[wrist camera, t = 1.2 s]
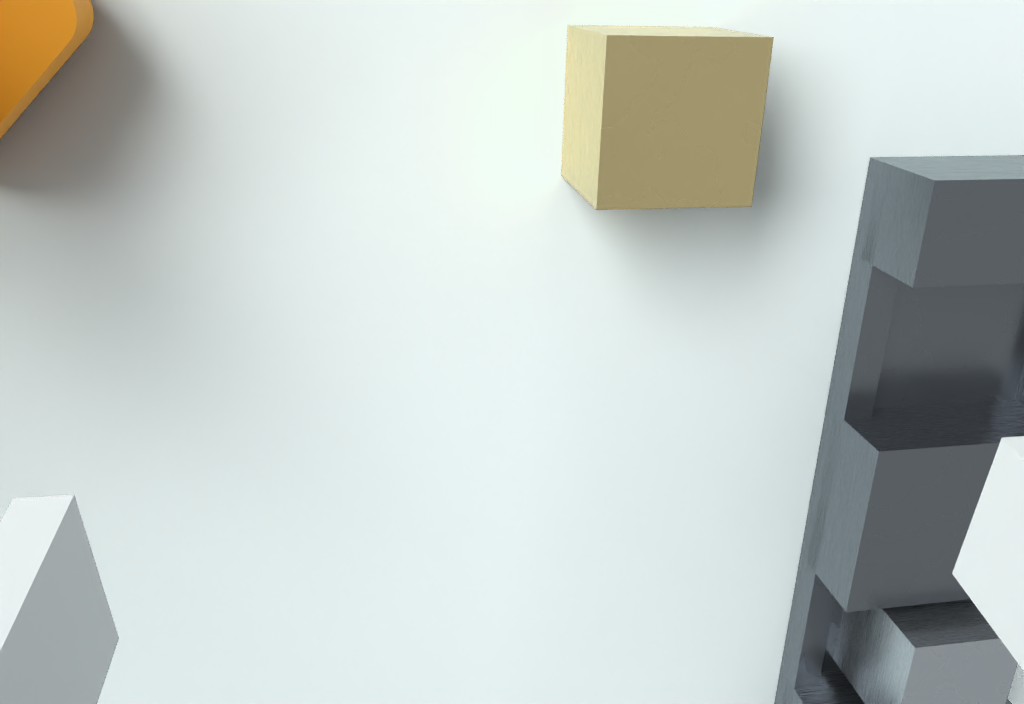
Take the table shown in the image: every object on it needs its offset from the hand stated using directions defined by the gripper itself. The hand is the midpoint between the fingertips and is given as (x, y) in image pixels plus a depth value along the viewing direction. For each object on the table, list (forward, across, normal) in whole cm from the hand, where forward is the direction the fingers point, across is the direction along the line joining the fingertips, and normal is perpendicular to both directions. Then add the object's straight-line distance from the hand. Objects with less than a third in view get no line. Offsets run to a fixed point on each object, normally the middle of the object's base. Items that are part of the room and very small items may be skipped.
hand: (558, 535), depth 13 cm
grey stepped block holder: (+19, -20, +16) cm, 32 cm away
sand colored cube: (+21, -6, 0) cm, 22 cm away
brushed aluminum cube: (+18, -19, +23) cm, 35 cm away
